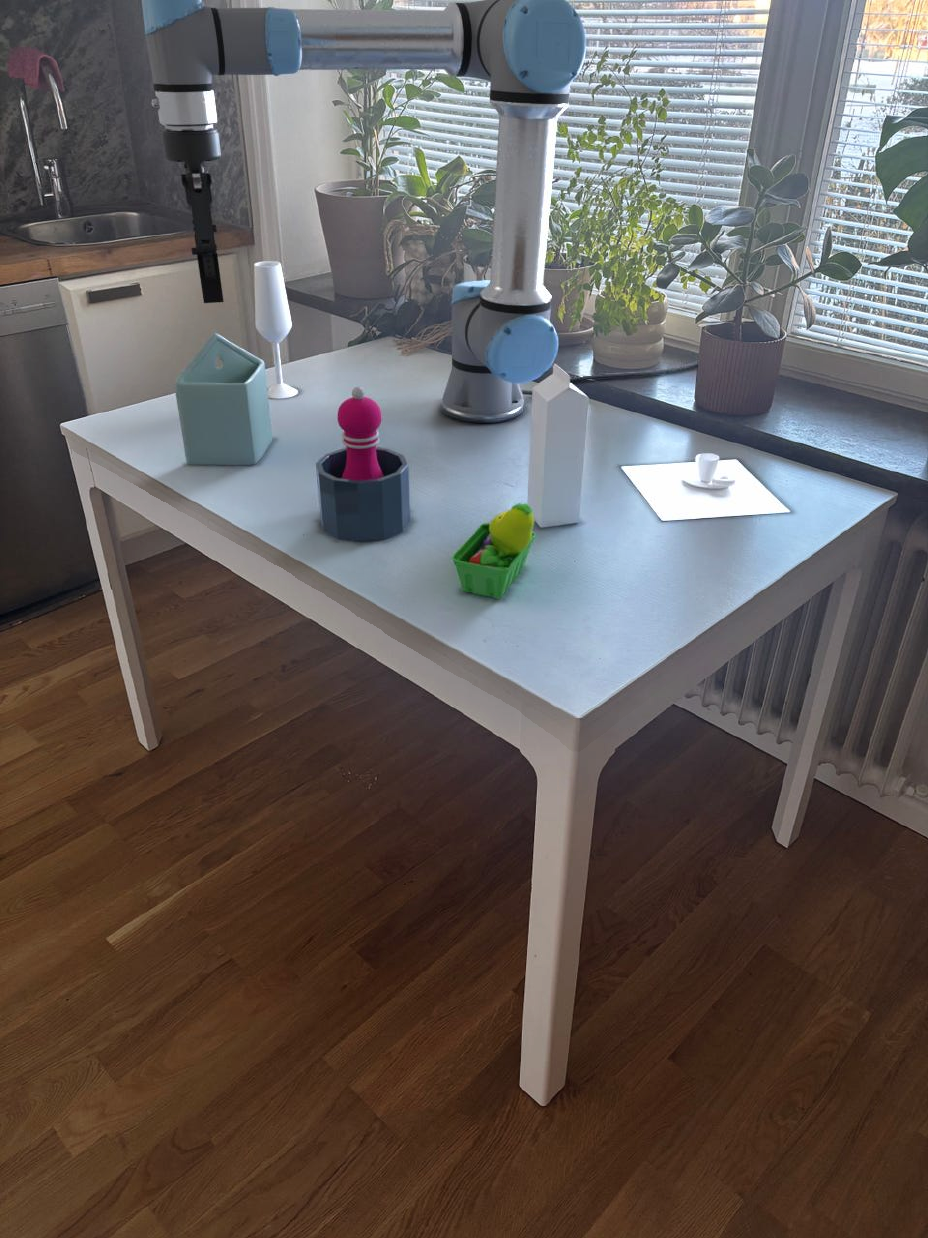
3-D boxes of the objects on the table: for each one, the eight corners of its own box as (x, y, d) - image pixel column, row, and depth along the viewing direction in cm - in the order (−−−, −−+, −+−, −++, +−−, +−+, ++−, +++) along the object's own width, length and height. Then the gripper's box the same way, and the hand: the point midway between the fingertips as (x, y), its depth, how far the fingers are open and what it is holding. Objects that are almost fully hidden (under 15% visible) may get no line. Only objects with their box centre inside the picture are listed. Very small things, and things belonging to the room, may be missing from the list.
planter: (210, 478, 148) (192, 354, 138) (186, 463, 153) (166, 342, 142) (297, 451, 158) (286, 333, 147) (271, 438, 162) (258, 323, 152)
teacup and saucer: (741, 491, 145) (746, 467, 143) (693, 494, 144) (696, 470, 142) (719, 469, 153) (723, 445, 150) (673, 471, 151) (676, 448, 149)
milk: (540, 528, 135) (548, 378, 123) (526, 510, 139) (532, 364, 127) (579, 523, 136) (591, 374, 124) (564, 505, 141) (573, 360, 129)
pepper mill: (397, 514, 138) (393, 381, 127) (378, 535, 132) (371, 398, 121) (353, 507, 140) (344, 375, 129) (331, 528, 134) (321, 392, 123)
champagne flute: (303, 388, 185) (291, 260, 172) (290, 399, 179) (277, 268, 166) (271, 385, 186) (257, 258, 173) (257, 396, 180) (242, 266, 167)
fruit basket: (482, 554, 128) (484, 478, 122) (544, 567, 125) (548, 489, 119) (449, 594, 119) (449, 513, 113) (514, 608, 116) (518, 527, 110)
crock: (399, 498, 142) (397, 442, 138) (416, 536, 132) (415, 477, 127) (316, 507, 140) (311, 450, 135) (327, 546, 129) (322, 486, 125)
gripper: (160, 119, 135) (184, 272, 146) (159, 137, 114) (186, 314, 126) (213, 118, 136) (233, 270, 148) (222, 135, 116) (243, 310, 127)
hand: (211, 290), depth 137 cm, fingers open, 13 cm apart
